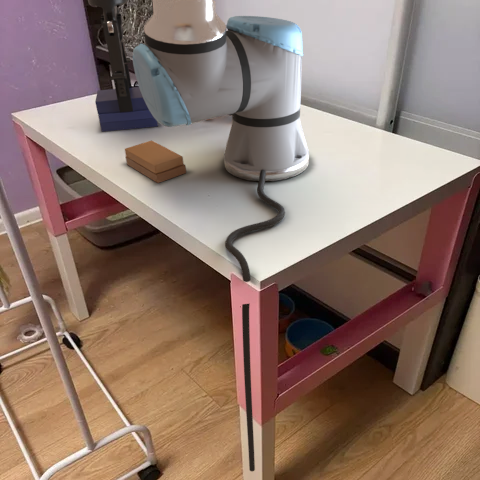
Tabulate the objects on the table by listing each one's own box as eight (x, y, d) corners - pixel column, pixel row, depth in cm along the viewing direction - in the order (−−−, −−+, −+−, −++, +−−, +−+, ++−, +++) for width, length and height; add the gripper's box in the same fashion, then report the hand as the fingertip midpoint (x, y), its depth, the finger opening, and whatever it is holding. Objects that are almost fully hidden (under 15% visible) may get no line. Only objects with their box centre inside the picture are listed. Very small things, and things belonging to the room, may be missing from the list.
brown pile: (186, 172, 91) (184, 156, 89) (157, 183, 89) (155, 166, 87) (154, 155, 98) (151, 139, 96) (126, 164, 95) (123, 148, 93)
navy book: (154, 97, 114) (152, 85, 112) (155, 108, 108) (153, 96, 106) (99, 102, 113) (97, 90, 111) (97, 114, 107) (95, 101, 105)
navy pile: (156, 114, 116) (154, 97, 114) (157, 126, 110) (155, 109, 108) (103, 119, 115) (100, 102, 113) (101, 131, 109) (98, 114, 107)
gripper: (88, -27, 103) (111, 89, 118) (79, -9, 87) (107, 123, 102) (125, -30, 104) (143, 86, 119) (123, -12, 88) (144, 119, 103)
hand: (126, 103), depth 110 cm, fingers open, 9 cm apart
